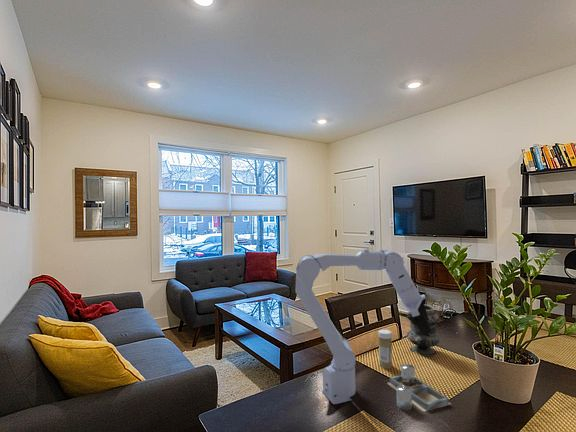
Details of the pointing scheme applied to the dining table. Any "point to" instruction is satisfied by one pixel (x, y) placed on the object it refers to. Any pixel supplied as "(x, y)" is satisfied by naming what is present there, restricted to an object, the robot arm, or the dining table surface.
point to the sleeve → (404, 397)
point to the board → (422, 395)
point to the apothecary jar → (424, 335)
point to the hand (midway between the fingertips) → (426, 326)
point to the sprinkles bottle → (385, 349)
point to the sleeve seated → (408, 375)
